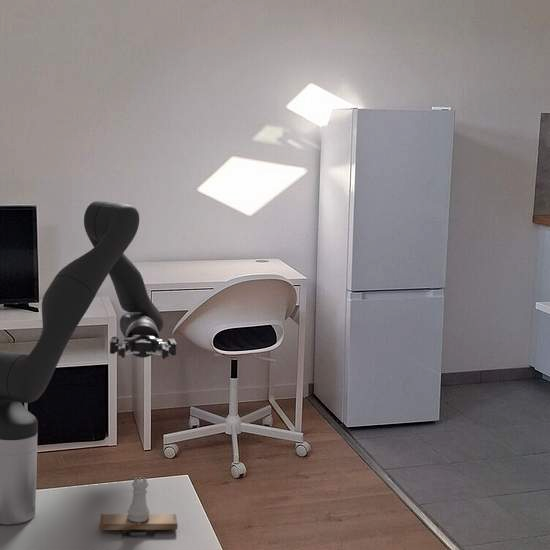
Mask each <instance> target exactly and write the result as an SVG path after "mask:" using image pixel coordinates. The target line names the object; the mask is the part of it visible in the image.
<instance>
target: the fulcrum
mask: <svg viewBox="0 0 550 550" xmlns="http://www.w3.org/2000/svg"><path fill="white" fill-rule="evenodd" d="M124 536H125V537H124ZM131 536H133V537H131ZM134 536H135V537H134ZM122 538H155V530H122Z"/></svg>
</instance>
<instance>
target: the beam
mask: <svg viewBox="0 0 550 550" xmlns="http://www.w3.org/2000/svg"><path fill="white" fill-rule="evenodd" d="M127 515H128V513H127V514H126V513H119V514H117V513H109V514H108V513H107V514H106V513H105V514H104V513H101V514H100V515H99V526H98V527H99V528H98V529H99V531H121V530H122V531H123V530H154V531H155V530H156V531H158V530H163V531H164V530H166V531H167V530H178V518H177V513H149V516H150V517H149V518H148V520H147V521H145V522H141V523H136V522H132V521H130V520H129V519H128V518H127Z"/></svg>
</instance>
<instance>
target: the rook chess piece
mask: <svg viewBox="0 0 550 550" xmlns="http://www.w3.org/2000/svg"><path fill="white" fill-rule="evenodd" d="M147 481H148V479H146V478H145V477H142V476H141V477H138V478H137V477H135V478H134V479H133V482H132V483H131V486H132V488H133V490H132V493H133V496H132V500H131V501H132V502H131V504H130V506H129V508H128V509H127V514H128V515H127V518H128V519H129V520H130V521H132V522H136V523H141V522H145V521H147V520H148V518H149V517H150V516H149V514H151V513H150V509H149V507H148V505H147V498H146V497H147V496H146V495H147V493H148V492H147V488H148V487H149V483H148V482H147Z"/></svg>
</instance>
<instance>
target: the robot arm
mask: <svg viewBox="0 0 550 550" xmlns="http://www.w3.org/2000/svg"><path fill="white" fill-rule="evenodd" d="M83 226H84V230H85V233H86V235H87V237H88V239H89V241H90V243H91V245H92V246H93V248H92V249H90V250H88V252H86V253H84V254H83V255H81V256H79V257H77V258H76V259H74V260H73V261H71V262H70V263H68V264H66V265H65V266H64V267H63V268H62V269H60V271H58V273H56V275H55V276H54V278H53V279H52V281H51V282H50V285H49V286H48V287H47V290H46V291H45V292H44V294H43V297H42V301H41V315H42V316H41V320H42V329H41V334H40V336H39V338H38V340H37V341H36V344H35V345H34V347H33V349H32V350H31V351H30V353H28V354H24V353H19V352H13V351H6V350H4V351H0V525H8V526H9V525H17V524H23V523H26V522H28V521H30V520H32V519H33V518H34V517H35V516H36V504H37V503H36V501H37V499H36V497H37V470H38V469H37V465H38V462H37V460H38V434H39V433H38V430H39V423H38V419H37V417H36V416H35V415H34V414H32V413H31V412H30V411H29V410H28V409H27V408H26V407H25V406H24V405H23V403H24V404H30V403H33V402H35V401H37V400H39V398H40V397H41V396H42V395H43V394H44V392H45V391H46V389H47V387H48V385H49V383H50V381H51V380H52V378H53V375H54V373H55V370H56V368H57V366H58V364H59V362H60V359H61V357H62V355H63V353H64V351H65V349H66V348H67V345H68V343H69V341H70V340H71V338H72V336H73V334H74V333H75V331H76V330H77V327H78V326H79V324H80V322H81V321H82V318H83V317H84V315H85V314H86V313H87V311H88V309H89V308H90V307H91V304H92V302H93V301H94V299H95V297H96V295H97V294H98V292H99V289H100V288H101V286H102V285H103V283H104V282H105V280H106V278H107V277H108V275H109V277H110V279H111V282H112V284H113V287H114V290H115V293H116V296H117V299H118V302H119V305H120V307H121V309H122V310H123V311H125V312H126V313H124V314H123V315H122V316H121V317H120V319H119V327H120V331H121V333H122V335H123V337H124V339H123V340H120V338H119V337H117V336H112V337H111V339H110V342H109V354H112V355H114V354H116V353H117V356H120V357H121V359H124V358H125V357H126V356H125V355H128V356H130V355H133V356H135V357H136V358H142V359H144V358H148V357H151V356H152V355H153V356H161V359H162V360H165V359H166V358H168V357H169V356H170V355H171V356H177V346H178V344H177V342H176V340H175V339H174V338H172V337H170V338H168V339H167V341H163V339H161V338H160V334H159V333H160V332H161V331H162V329H163V327H164V318H163V316H162V313H160V311H159V309H158V308H157V307H156V305H155V304H154V303H153V302H152V300H151V298H150V297H149V294H148V291H147V288H146V284H145V281H144V278H143V275H142V274H141V272H140V270H139V269H138V268H137V266H136V265H135V264H134V263H133V262H132V261H131V260H130V258H128V257H127V255H125V252H126V250H127V249H128V247H129V246H130V245H131V243H132V242H133V240H134V238H135V237H136V235H137V231H138V230H139V226H140V214H139V211H138V209H137V208H135V206H133V205H130V204H127V203H121V202H114V201H105V200H95V201H93V202H91V203H90V204H89V205H88V206H87V208H86V209H85V212H84V216H83ZM169 354H170V355H169Z"/></svg>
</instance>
